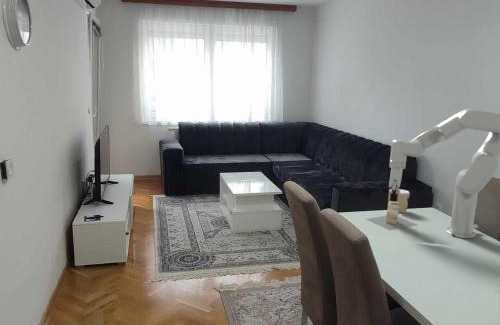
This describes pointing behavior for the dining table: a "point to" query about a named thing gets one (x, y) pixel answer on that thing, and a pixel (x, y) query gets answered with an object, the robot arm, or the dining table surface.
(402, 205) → the coffee cup
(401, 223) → the baseplate
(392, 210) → the birch block
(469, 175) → the robot arm
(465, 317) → the dining table surface
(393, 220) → the oak base brick
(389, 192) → the terracotta block
